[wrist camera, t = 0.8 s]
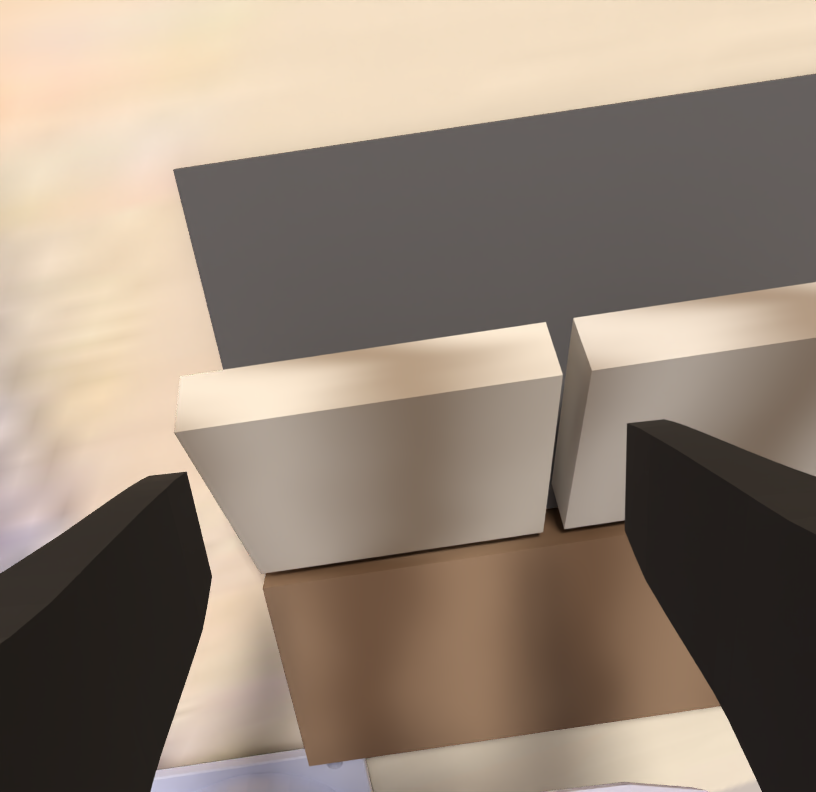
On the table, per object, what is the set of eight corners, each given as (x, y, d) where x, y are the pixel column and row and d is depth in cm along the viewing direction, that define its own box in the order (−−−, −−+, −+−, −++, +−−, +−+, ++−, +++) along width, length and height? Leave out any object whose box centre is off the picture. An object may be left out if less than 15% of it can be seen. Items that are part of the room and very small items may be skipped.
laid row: (313, 719, 24) (309, 766, 23) (271, 549, 22) (262, 588, 20) (795, 648, 24) (829, 689, 23) (810, 470, 22) (849, 501, 20)
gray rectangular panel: (269, 544, 22) (268, 549, 21) (176, 168, 18) (173, 169, 17) (811, 464, 22) (817, 468, 21) (845, 69, 18) (852, 68, 17)
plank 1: (261, 526, 21) (260, 574, 20) (180, 376, 16) (174, 432, 15) (531, 486, 21) (543, 532, 20) (545, 321, 15) (562, 374, 15)
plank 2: (551, 483, 21) (564, 528, 20) (573, 317, 15) (591, 370, 15) (821, 443, 21) (846, 487, 20) (939, 263, 15) (981, 312, 15)
